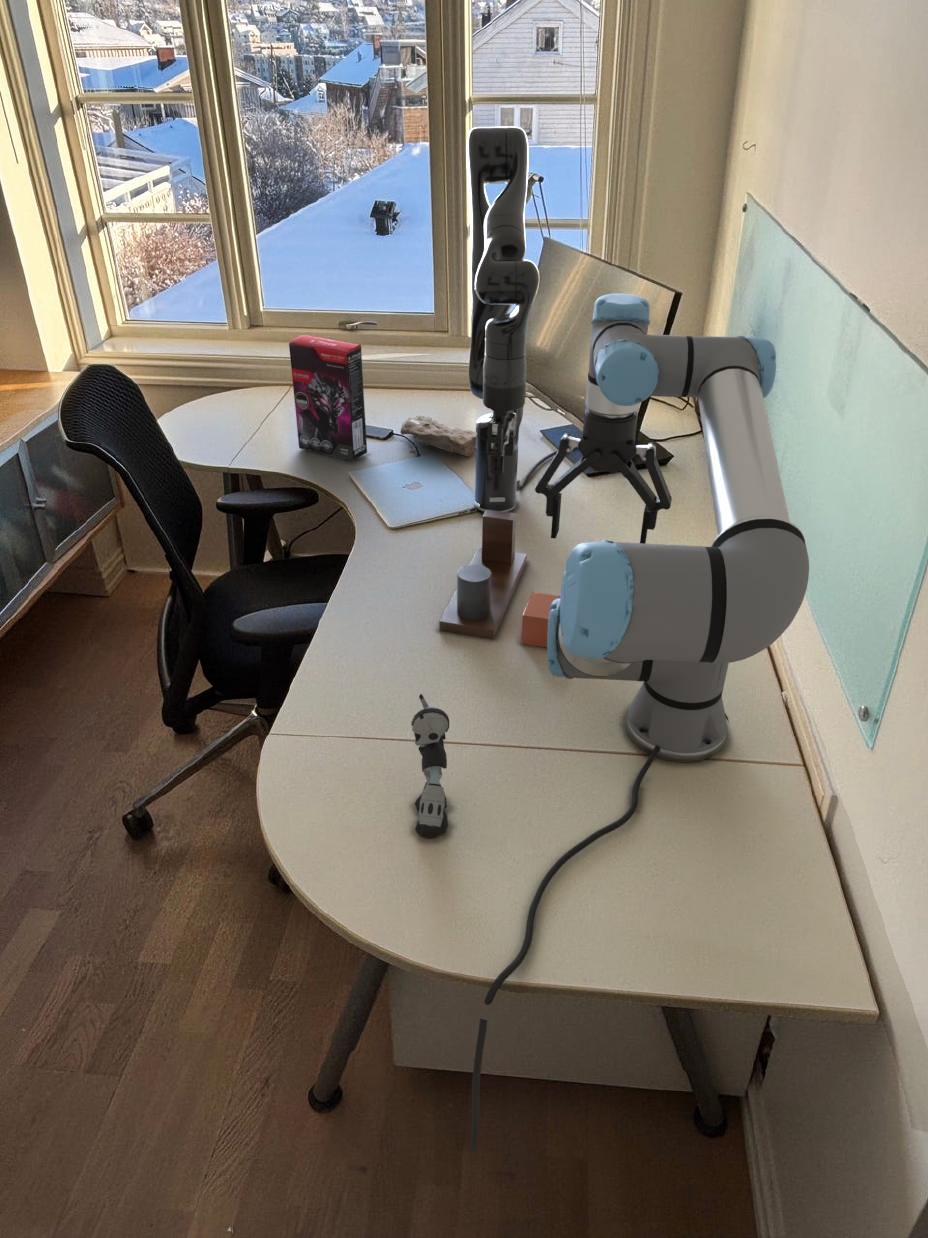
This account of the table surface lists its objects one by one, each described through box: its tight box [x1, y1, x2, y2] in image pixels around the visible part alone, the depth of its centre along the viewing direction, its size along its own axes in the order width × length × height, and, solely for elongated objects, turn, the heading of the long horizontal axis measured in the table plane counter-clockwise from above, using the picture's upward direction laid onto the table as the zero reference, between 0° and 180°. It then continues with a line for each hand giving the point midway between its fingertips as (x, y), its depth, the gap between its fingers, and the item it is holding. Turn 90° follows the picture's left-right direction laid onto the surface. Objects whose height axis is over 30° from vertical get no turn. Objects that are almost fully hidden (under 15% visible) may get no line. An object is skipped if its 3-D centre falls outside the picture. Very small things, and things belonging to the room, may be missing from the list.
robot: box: [410, 693, 450, 839], centre depth 122 cm, size 20×5×20 cm, turn 3°
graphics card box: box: [288, 334, 368, 462], centre depth 223 cm, size 17×7×27 cm, turn 62°
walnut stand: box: [439, 510, 528, 640], centre depth 172 cm, size 28×10×12 cm, turn 165°
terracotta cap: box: [520, 591, 561, 649], centre depth 163 cm, size 8×8×6 cm
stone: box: [400, 415, 476, 457], centre depth 232 cm, size 21×15×6 cm
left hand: (502, 463), depth 171 cm, fingers open, 8 cm apart
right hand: (598, 540), depth 143 cm, fingers open, 13 cm apart
